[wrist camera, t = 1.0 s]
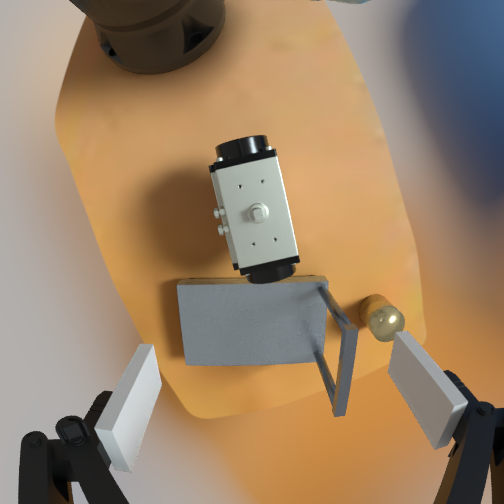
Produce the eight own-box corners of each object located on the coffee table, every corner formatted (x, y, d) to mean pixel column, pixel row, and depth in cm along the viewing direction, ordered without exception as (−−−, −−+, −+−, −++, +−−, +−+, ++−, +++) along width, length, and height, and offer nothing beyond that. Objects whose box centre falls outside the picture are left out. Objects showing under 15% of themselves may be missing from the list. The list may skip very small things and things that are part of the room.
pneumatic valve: (263, 145, 33) (272, 127, 21) (287, 249, 35) (306, 284, 24) (213, 157, 33) (195, 145, 21) (238, 260, 36) (234, 300, 24)
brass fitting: (360, 295, 37) (375, 311, 32) (389, 293, 37) (407, 308, 32) (357, 325, 38) (370, 343, 33) (385, 322, 38) (401, 339, 33)
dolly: (182, 276, 36) (148, 329, 23) (322, 273, 36) (360, 323, 23) (189, 352, 38) (168, 424, 25) (317, 349, 38) (345, 419, 25)
